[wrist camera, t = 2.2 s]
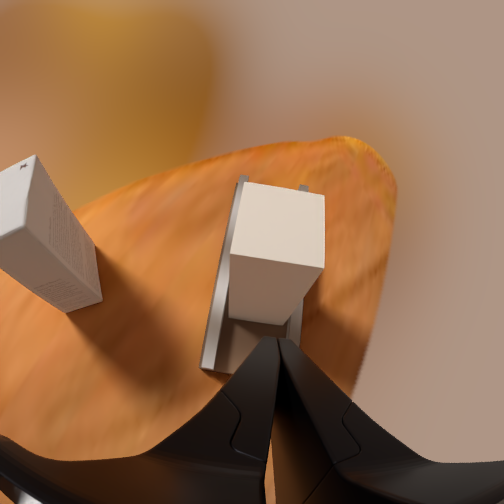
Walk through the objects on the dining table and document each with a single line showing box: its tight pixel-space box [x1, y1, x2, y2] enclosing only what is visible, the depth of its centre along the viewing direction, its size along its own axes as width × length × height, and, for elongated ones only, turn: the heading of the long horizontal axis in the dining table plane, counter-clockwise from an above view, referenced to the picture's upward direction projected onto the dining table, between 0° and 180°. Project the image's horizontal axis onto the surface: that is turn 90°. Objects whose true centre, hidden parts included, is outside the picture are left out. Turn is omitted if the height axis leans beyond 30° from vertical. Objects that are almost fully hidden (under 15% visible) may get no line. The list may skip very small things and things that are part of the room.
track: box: [199, 175, 308, 374], centre depth 23 cm, size 17×7×2 cm, turn 172°
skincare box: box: [0, 155, 103, 313], centre depth 17 cm, size 6×4×12 cm
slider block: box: [228, 182, 325, 326], centre depth 17 cm, size 4×4×10 cm
